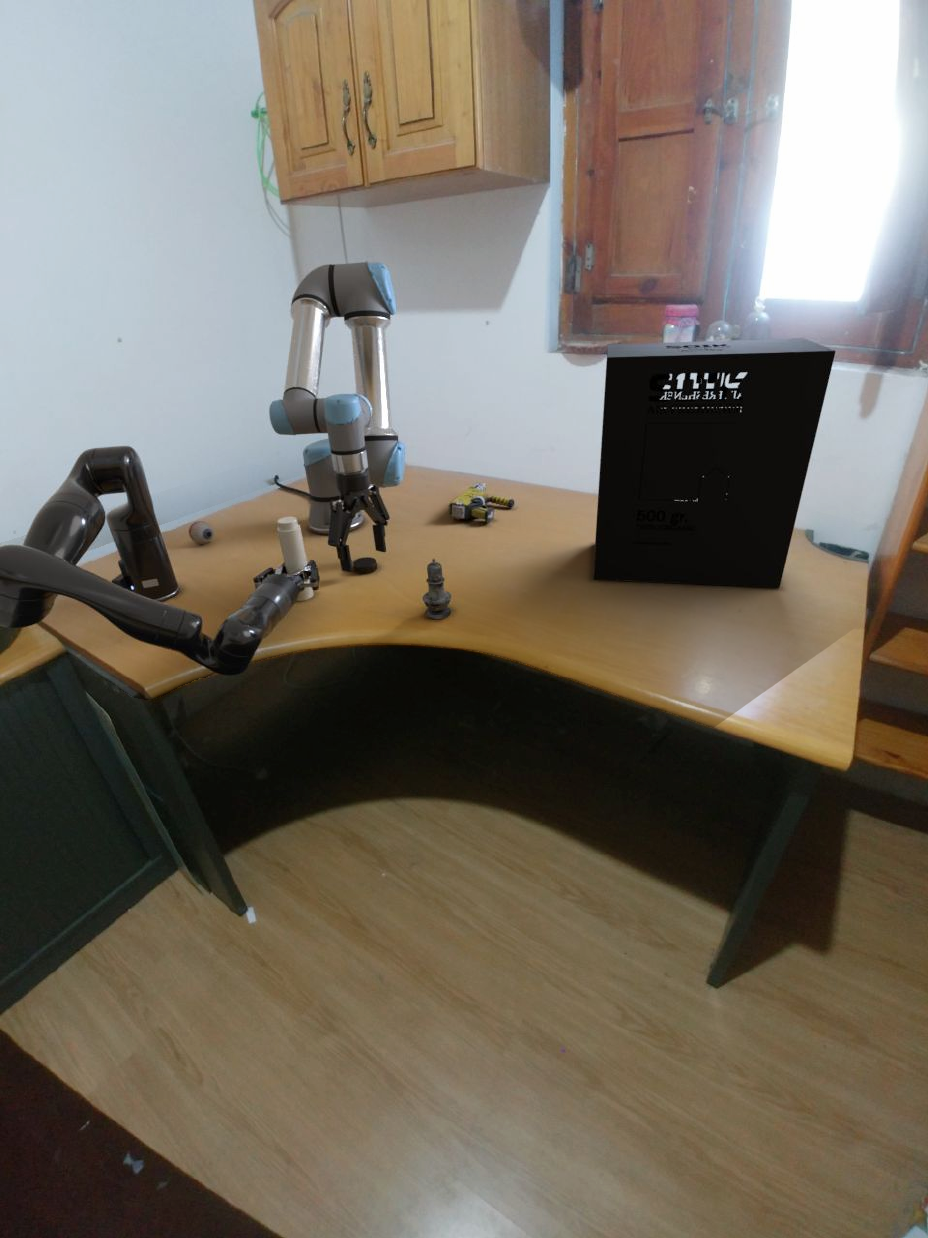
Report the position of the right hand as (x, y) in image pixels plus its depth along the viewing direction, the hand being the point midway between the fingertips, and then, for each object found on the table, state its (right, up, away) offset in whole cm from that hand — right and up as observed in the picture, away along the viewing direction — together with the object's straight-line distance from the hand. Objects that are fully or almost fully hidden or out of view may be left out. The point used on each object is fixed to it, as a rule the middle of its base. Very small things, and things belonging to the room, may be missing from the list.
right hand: (364, 560), depth 143 cm
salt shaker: (+18, -13, -20) cm, 30 cm away
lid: (0, -1, 0) cm, 1 cm away
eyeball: (-46, +7, +20) cm, 51 cm away
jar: (-12, -9, -10) cm, 18 cm away
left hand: (-12, -2, -11) cm, 16 cm away
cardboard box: (+72, -1, -6) cm, 73 cm away
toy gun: (+30, +18, +31) cm, 47 cm away
